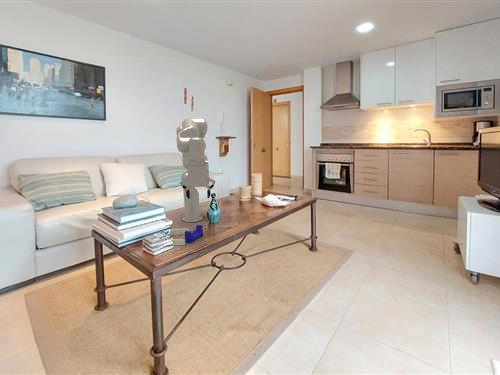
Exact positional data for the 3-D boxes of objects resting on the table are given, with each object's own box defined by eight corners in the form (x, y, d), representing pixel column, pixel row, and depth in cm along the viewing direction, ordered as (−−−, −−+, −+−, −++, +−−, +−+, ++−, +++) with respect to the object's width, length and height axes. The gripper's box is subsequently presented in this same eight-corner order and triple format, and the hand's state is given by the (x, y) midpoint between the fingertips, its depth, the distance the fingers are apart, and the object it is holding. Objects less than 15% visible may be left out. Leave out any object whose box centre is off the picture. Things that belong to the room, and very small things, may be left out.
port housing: (170, 234, 145) (170, 229, 145) (188, 233, 146) (188, 228, 146) (164, 246, 129) (164, 240, 128) (184, 245, 130) (184, 239, 130)
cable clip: (195, 234, 145) (195, 224, 144) (202, 235, 143) (202, 225, 142) (182, 242, 134) (182, 231, 133) (190, 243, 132) (189, 232, 131)
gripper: (215, 162, 133) (216, 196, 136) (180, 163, 131) (182, 197, 134) (214, 163, 125) (215, 199, 128) (177, 164, 124) (179, 200, 127)
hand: (198, 198), depth 131 cm, fingers open, 9 cm apart
